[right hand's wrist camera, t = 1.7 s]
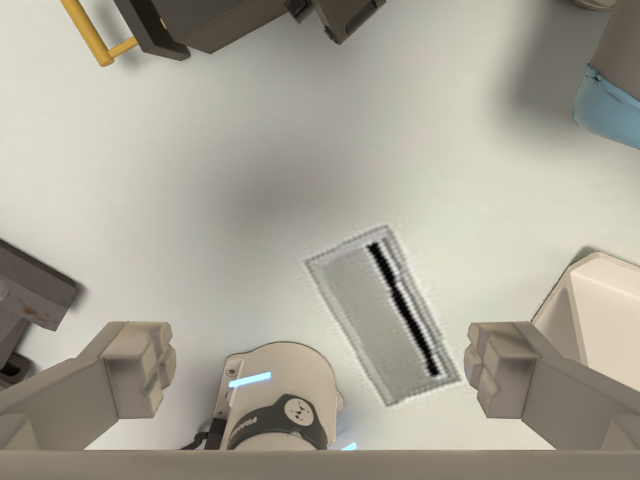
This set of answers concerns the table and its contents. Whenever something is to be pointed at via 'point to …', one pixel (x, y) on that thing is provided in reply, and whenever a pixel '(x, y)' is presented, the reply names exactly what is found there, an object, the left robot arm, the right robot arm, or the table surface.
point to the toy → (27, 306)
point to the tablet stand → (597, 317)
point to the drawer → (142, 24)
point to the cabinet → (215, 20)
